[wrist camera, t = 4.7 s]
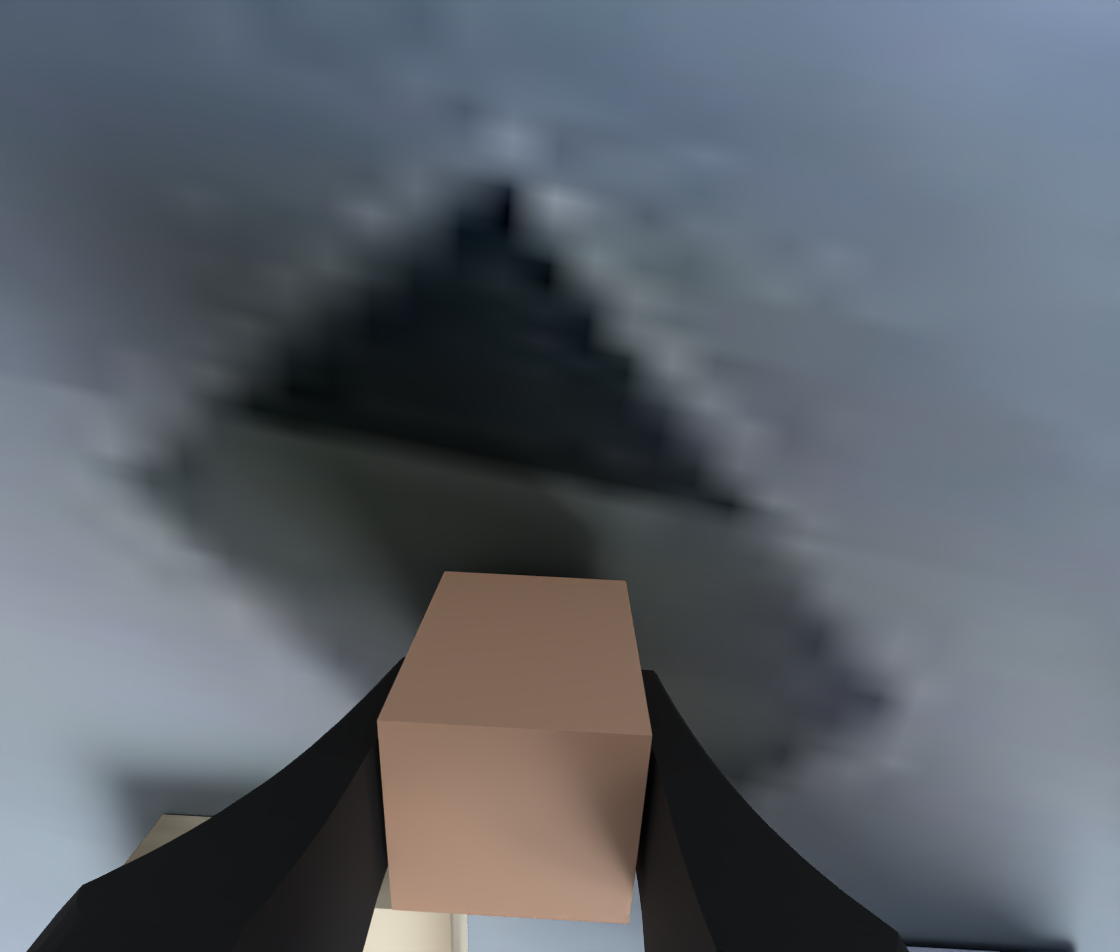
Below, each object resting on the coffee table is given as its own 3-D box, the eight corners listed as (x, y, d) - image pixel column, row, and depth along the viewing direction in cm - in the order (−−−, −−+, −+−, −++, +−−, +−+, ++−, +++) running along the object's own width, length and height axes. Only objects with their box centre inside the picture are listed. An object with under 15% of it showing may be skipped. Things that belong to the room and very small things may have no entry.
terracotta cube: (625, 581, 14) (652, 735, 9) (612, 725, 15) (628, 924, 11) (444, 571, 14) (376, 720, 9) (448, 716, 15) (392, 909, 11)
